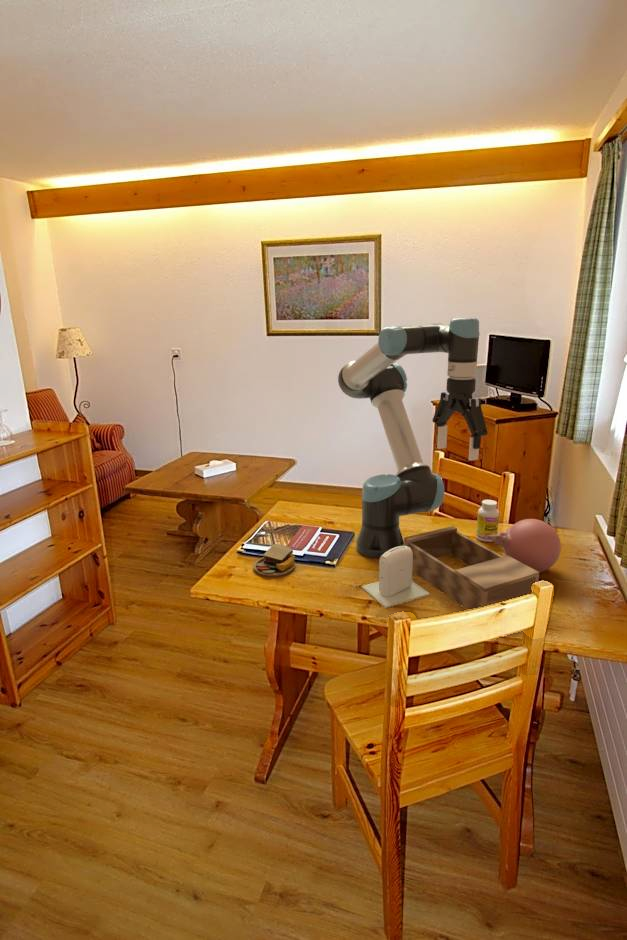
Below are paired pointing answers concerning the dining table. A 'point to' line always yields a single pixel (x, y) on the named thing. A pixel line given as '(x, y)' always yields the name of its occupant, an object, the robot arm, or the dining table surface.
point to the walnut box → (469, 569)
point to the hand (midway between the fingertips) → (456, 453)
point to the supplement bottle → (487, 520)
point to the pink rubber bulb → (530, 543)
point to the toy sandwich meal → (275, 561)
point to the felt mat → (397, 598)
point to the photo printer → (395, 570)
